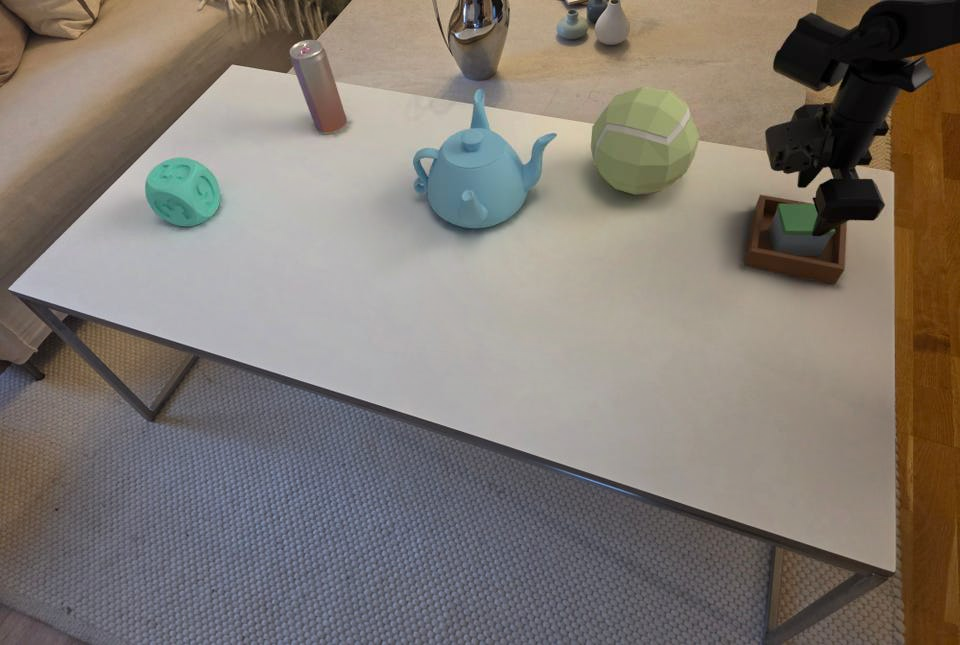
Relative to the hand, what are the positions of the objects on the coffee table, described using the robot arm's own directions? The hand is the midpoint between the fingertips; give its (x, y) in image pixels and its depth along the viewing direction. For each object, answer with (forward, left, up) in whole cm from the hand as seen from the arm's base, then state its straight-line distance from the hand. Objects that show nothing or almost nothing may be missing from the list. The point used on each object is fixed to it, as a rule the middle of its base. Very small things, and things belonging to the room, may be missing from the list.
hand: (808, 210), depth 78 cm
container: (0, 0, -6) cm, 6 cm away
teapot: (+45, -8, -7) cm, 46 cm away
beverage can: (+76, -28, -7) cm, 81 cm away
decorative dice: (+94, -5, -7) cm, 94 cm away
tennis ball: (+21, -13, -7) cm, 26 cm away
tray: (0, 0, -7) cm, 7 cm away
